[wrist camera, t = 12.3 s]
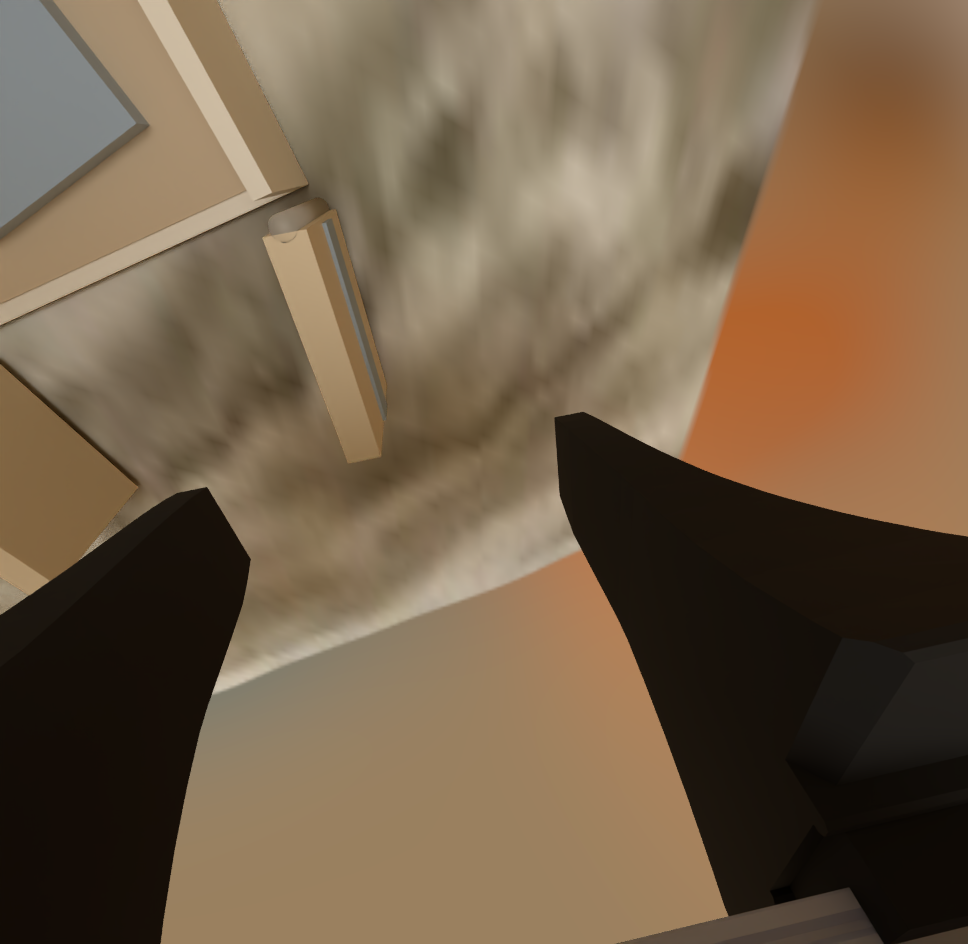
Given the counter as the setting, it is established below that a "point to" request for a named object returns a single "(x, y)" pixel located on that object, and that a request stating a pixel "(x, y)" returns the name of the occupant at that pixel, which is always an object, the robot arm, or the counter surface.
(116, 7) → the carton
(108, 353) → the counter surface
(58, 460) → the flap left
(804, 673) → the robot arm
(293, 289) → the flap right
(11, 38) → the booklet
